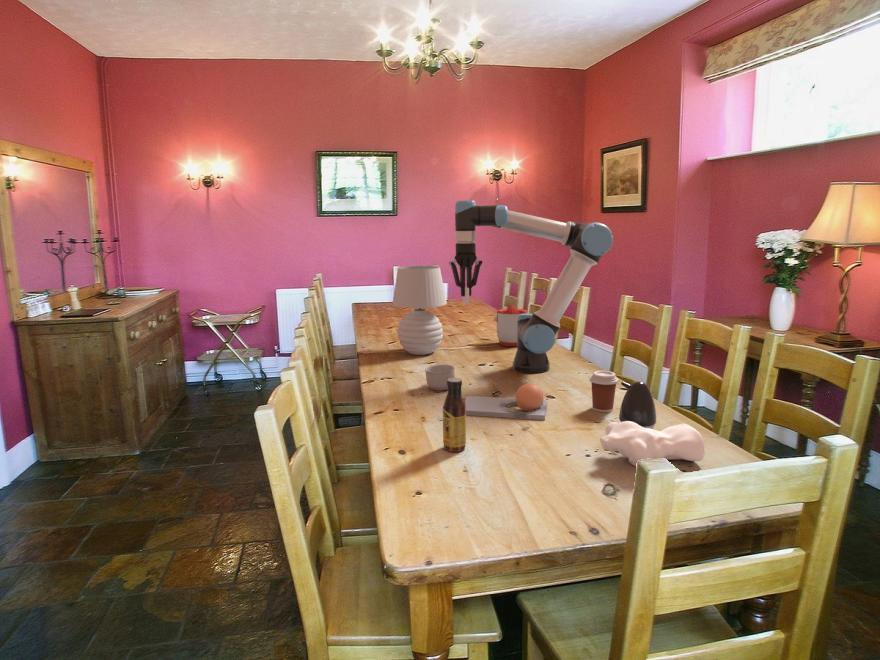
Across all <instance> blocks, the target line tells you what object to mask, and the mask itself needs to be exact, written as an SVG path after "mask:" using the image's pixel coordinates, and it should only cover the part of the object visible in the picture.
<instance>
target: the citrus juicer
mask: <svg viewBox="0 0 880 660" xmlns="http://www.w3.org/2000/svg"><path fill="white" fill-rule="evenodd" d="M520 314H529V310H527V309H523V308H517V307H516V306H515V305H514V304H511V305H510V306H509V307H508V308H500V309H497V312H496V316H495V317H494V318H493V320H492V322H496V334H497V339H498V342H499V345H501V346H503V347H517V327H518V323H517V320H518V316H519V315H520Z"/></svg>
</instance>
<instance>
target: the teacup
mask: <svg viewBox="0 0 880 660" xmlns="http://www.w3.org/2000/svg"><path fill="white" fill-rule="evenodd" d="M424 370H425V378H426V384H427V385H428V387H429V388H431V389H432V390H434V391H446V390H447V391H448V385H447V379H449V378H456V377H455V366H454V365H451V364H445V363H444V364H443V363H438V364H434V365H430V366H427V367H426V368H425V369H424Z"/></svg>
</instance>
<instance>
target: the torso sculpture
mask: <svg viewBox="0 0 880 660" xmlns="http://www.w3.org/2000/svg"><path fill="white" fill-rule="evenodd" d="M605 434H606V435H605V436H600V437H599V440H600V441H599V442H600V444H601V448H602V449H603V450H605V451H609V452H615V451H618V452H619V453H620V455H621V456H622V457H623V458H625V459H627V460H628V462H629V463H630V464H631V465H633V466H635V467H636V463H637V461H638V460H641V459H647V458H666V459H667V460H685V461H689V462H690V461H691V462H702V461H703V460H704V457H705V442H704V440H703V436H702V434H701V433H700V432H699V431H698V429H696V428H694V427H693V426H691V425H689V424H687V423H679V424H675V425H671V426H668V427H665V428H663V429H662V430H661V431H660V430H656V429H654V428H653V429H650V428H644V427H641V426H640V425H638V424H637V423H634V422H631V421H624V422H616V421H612V422H610V423H609V424H607V425H606V427H605Z"/></svg>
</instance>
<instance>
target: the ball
mask: <svg viewBox="0 0 880 660" xmlns="http://www.w3.org/2000/svg"><path fill="white" fill-rule="evenodd" d="M544 398H545V396H544V392H543V390H542V388H541V387H539V385H537V384H534V383H525V384H523V385H520V386H519V388H518V389H517V390H516V393H515V399H516V402H517V404H518V405H517V406H518V407H519V408H520V409H521V410H523V411H524V412H531V411H536V410H538V409H539V408H540V407H541V405H542V403H543V400H544Z"/></svg>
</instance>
